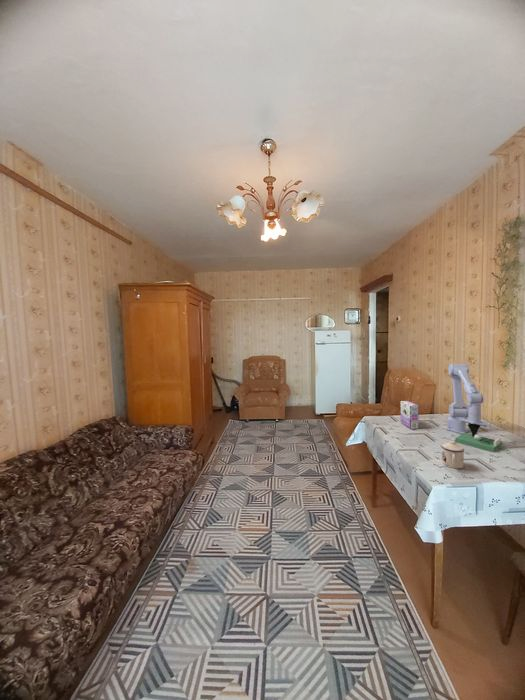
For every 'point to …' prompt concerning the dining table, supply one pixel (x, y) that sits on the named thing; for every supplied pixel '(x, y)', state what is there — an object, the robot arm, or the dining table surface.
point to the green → (479, 442)
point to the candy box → (409, 414)
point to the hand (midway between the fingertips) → (474, 436)
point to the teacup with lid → (452, 455)
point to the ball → (477, 436)
